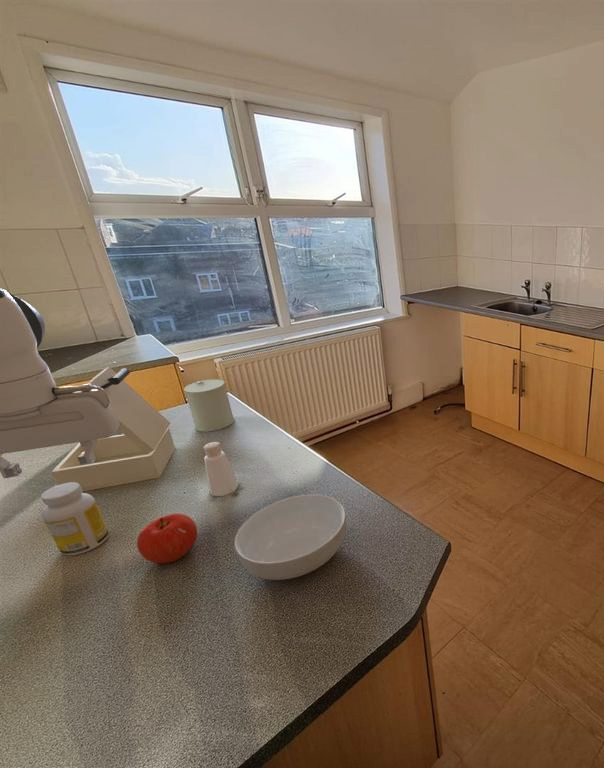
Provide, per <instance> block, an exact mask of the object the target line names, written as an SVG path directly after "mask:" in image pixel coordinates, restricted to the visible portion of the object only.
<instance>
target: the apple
mask: <svg viewBox="0 0 604 768" xmlns="http://www.w3.org/2000/svg"><path fill="white" fill-rule="evenodd" d="M197 538H198V528H197V525H196V522H195V521H194V520H193V519H192V518H191V517H190V516H189V515H186V514H182V513H172V514H168V515H164V516H162V517H159V518H157V519H155V520H153V521H152V522H151V523H149V524H147V525H146V526H145V527H144V528H143V529H142V530H141V531H140V532H139V534H138V536H137V540H136V546H137V551H138V552H139V554H140V555H141V556H142V557H143V558H144V559H145V560H147V561H149V562H152V563H154V564H155V563H156V564H168V563H173V562H175V561H176V562H177V560H179V559H181V558H182V557H183V556H185V555H186V554H187V553H189V551H190V550H192V549H193V547H194V545H195V544H196V542H197Z"/></svg>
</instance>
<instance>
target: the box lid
mask: <svg viewBox="0 0 604 768" xmlns="http://www.w3.org/2000/svg"><path fill="white" fill-rule="evenodd" d="M130 371H131V370H130V369H128V368H126V367H125V368H121V369H120V370H119V371H117V372H115V371H114V370H113V369H112V368H111V367H109V366H108V367H106V368H104V369H102V370H101V371H100V372H98V373H97V374H96V375H94V377H93V378H91V379H90V380H89V381H87V382H86V384H91V385H92V386H97V387H100V388H102V389H104V390H105V391H106V393H107V395H108V398H109V402H110V403H109V404H110V406H111V407H112V409H113V410H114V412H115V414H116V416H117V418H118V420H119V423H120V425H119V427H118V429H117V430H118V431H119V432H120V433H122V434H124V435H125V436H127V437H128V438H129V439H130V440H131V441H133V442H134V443H135V444H136V445H137V446H139V447H140V448H141V449H142V450H143V451H145V452H146V453H147V454H148V453H150V452H152V451H154V449H155V448H156V446H157V444H158V443H159V441H160V440H161V438H162V436H163V435H164V433H165V431H166V430H167V428H170V427H169V426H170V425H171V421H169V420H168V419H167V418H166V417H165V416H164V415H163V414H162V413H161V412H160V411H158V410H157V409H156V408H155V407H154V406H153V405H152V404H150V403H149V401H147V400H146V398H144V397H143V396H142V395H141V394H140V393H138V391H136V390H135V389H134V388H133V387H132V386H131V385H129V384H128V383H127V382H126V381H125V380H124V379H126V378H127V377H128V376H129V375H130V374H131V373H130ZM92 390H95V389H92Z"/></svg>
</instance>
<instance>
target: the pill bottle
mask: <svg viewBox="0 0 604 768" xmlns="http://www.w3.org/2000/svg"><path fill="white" fill-rule="evenodd" d="M40 498H41V501H42V503H43V504H44V505H45V507H44V508H43V510H42V512H41V517H42V519H43V521H44V524H45V525H46V528H47V529H48V531H49V533H50V535H51V537H52V539H53V541H54V543H55V544H56V547H57V548H58V550H59V552H60V553H61V554H62V555H65V556H75V555H81V554H84V553H87V552H89V551H91V550H94V549H96V548H98V547H99V546H100V545H101V544H103V543H105V541H106V540H107V539H108V537H109V534H110V533H109V529H108V526H107V525H106V522H105V520H104V517H103V515H102V512H101V511H100V508H99V506H98V504H97V503H96V500H95V498H94V497H93V495H91V494H89V493H86V492H82V489H81V487H80V485H79V484H78V483H75V482H70V483H64V484H60V485H57V484H56V485H55V486H52V487H50V488H48V489H47V490H45V491H44V492H43V493H42V494H41V496H40Z"/></svg>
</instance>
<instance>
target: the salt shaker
mask: <svg viewBox="0 0 604 768" xmlns="http://www.w3.org/2000/svg"><path fill="white" fill-rule="evenodd" d="M203 450H204V452H205V456H204V457H203V461H204V468H205V474H206V480H207V486H208V492H209V493H210V495H211V496H212V497H225V496H227V495H229V494H233V493H234V492H235V491H236V490H237V488H239V487H240V485H239V482H238V481H237V478H236V475H235V473H234V471H233V469H232V466H231V464H230V462H229V459H228V457H227V454H226V453H225V451H223V450H222V448H221V443H220V442H218V441H212V442H208V443H206V444H205V445H204V446H203Z"/></svg>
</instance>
